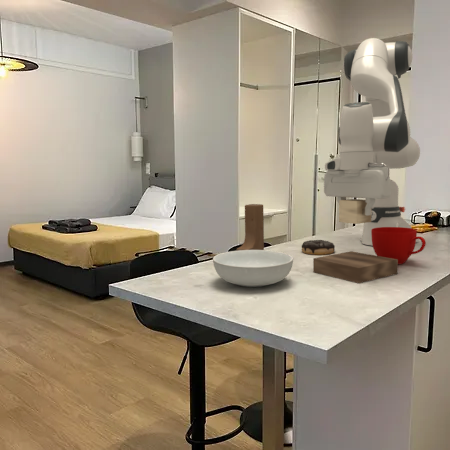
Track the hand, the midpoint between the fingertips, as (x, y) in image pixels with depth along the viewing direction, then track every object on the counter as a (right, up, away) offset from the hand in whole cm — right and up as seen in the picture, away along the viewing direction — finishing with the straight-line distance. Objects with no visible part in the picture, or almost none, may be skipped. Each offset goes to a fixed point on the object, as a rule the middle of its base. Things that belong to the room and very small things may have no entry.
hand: (355, 214), depth 123 cm
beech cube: (0, -2, 0) cm, 2 cm away
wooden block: (-27, -15, +22) cm, 38 cm away
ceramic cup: (+17, -15, +13) cm, 26 cm away
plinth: (0, -16, +2) cm, 17 cm away
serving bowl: (-28, -18, -5) cm, 34 cm away
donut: (-3, -13, +34) cm, 36 cm away
